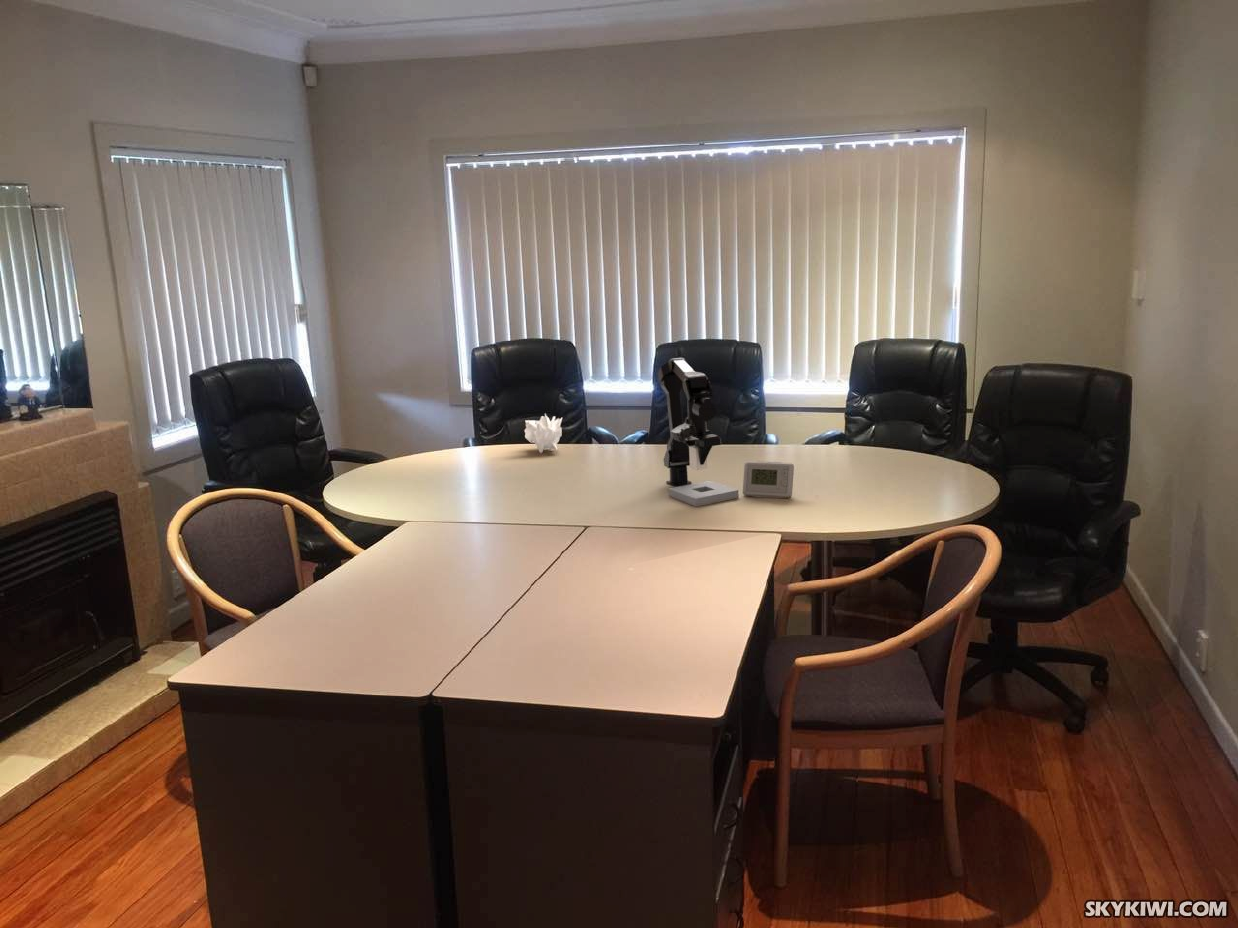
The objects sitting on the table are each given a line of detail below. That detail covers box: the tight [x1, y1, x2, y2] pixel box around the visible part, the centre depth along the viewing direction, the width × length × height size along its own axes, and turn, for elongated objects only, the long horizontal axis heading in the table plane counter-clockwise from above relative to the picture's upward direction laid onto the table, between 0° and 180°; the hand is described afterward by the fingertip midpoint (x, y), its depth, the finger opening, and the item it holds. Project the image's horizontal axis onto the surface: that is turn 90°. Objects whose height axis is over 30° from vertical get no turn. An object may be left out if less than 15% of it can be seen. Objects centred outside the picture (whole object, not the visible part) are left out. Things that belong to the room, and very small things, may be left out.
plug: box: [689, 440, 708, 471], centre depth 323 cm, size 4×4×9 cm
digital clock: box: [742, 460, 795, 499], centre depth 325 cm, size 16×9×11 cm, turn 55°
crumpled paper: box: [524, 413, 563, 454], centre depth 408 cm, size 20×17×15 cm
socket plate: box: [668, 480, 739, 507], centre depth 328 cm, size 16×16×2 cm
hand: (698, 463), depth 324 cm, fingers closed on plug, 4 cm apart
